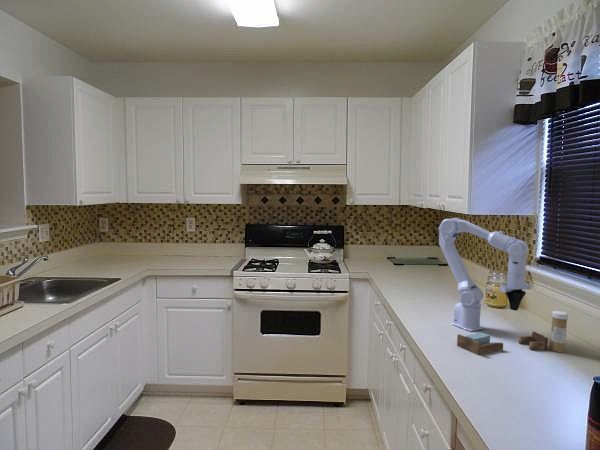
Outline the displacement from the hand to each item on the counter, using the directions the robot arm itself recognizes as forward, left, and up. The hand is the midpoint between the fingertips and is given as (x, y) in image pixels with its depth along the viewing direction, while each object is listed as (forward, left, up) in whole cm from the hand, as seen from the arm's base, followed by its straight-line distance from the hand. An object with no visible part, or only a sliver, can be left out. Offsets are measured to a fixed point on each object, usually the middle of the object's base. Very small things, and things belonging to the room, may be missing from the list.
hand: (514, 309), depth 154 cm
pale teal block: (+2, -21, -11) cm, 24 cm away
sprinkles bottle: (+15, +3, -11) cm, 18 cm away
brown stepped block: (+9, -2, -10) cm, 14 cm away
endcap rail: (+2, -21, -10) cm, 24 cm away
